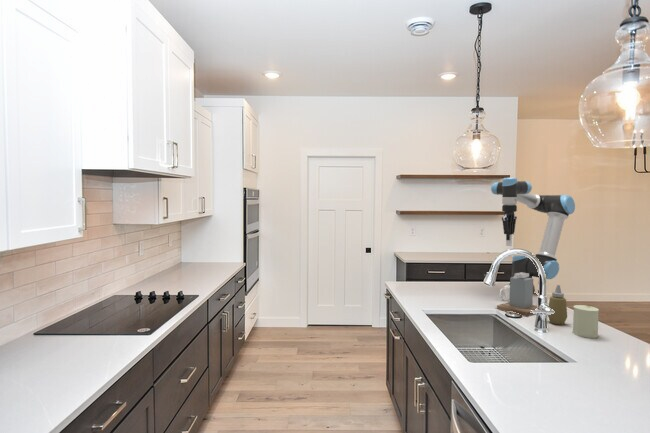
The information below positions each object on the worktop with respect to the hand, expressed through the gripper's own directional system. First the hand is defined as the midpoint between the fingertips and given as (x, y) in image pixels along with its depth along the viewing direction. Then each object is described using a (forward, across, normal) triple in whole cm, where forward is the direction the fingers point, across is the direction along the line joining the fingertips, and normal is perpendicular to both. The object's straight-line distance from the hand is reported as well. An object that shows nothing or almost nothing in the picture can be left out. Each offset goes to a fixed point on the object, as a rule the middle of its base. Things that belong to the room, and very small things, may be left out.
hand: (509, 245), depth 219 cm
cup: (+32, 0, 0) cm, 32 cm away
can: (+32, -29, -48) cm, 65 cm away
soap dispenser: (+30, -14, -14) cm, 36 cm away
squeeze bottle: (+32, -22, -34) cm, 52 cm away
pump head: (+22, -16, -14) cm, 30 cm away
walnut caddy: (+32, -14, -14) cm, 37 cm away
